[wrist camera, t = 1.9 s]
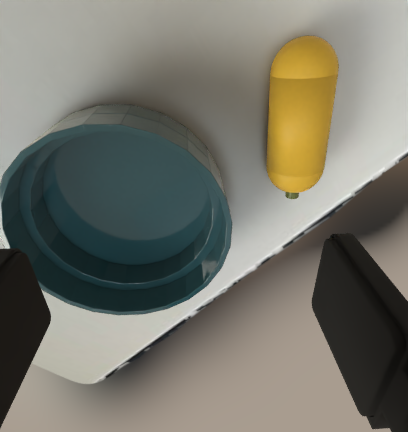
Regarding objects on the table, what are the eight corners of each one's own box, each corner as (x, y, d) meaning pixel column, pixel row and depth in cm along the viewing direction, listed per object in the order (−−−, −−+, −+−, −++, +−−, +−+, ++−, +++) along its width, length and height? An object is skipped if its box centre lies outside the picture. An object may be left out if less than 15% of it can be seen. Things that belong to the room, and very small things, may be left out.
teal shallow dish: (29, 75, 25) (-14, 90, 19) (249, 134, 29) (265, 161, 23) (30, 255, 34) (1, 299, 29) (195, 282, 38) (198, 326, 33)
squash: (260, 37, 24) (291, 39, 20) (318, 32, 25) (359, 33, 21) (257, 189, 31) (279, 214, 27) (302, 181, 32) (330, 203, 28)
